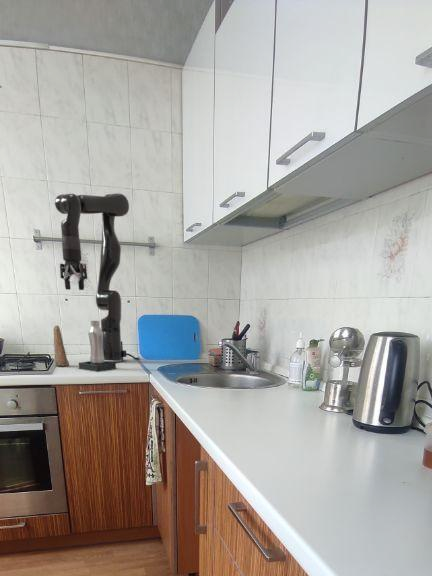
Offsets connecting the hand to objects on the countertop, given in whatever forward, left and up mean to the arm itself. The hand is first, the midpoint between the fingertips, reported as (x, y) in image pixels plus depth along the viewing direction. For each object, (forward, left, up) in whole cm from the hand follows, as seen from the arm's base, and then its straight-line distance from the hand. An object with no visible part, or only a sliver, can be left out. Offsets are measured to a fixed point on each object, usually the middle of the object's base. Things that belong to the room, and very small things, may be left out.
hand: (74, 289), depth 204 cm
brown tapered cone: (+4, -9, -23) cm, 25 cm away
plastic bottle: (-2, +10, -33) cm, 34 cm away
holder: (-1, +10, -33) cm, 35 cm away
